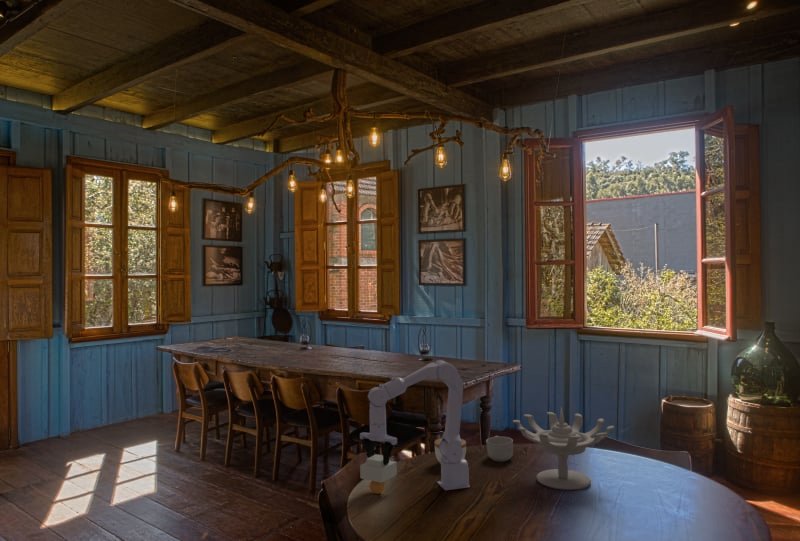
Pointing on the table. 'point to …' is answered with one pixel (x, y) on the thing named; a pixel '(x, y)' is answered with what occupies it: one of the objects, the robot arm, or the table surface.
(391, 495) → the table surface
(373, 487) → the ball
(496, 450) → the teacup
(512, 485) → the table surface
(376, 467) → the white block
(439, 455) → the lidded bowl
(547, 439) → the candelabra
